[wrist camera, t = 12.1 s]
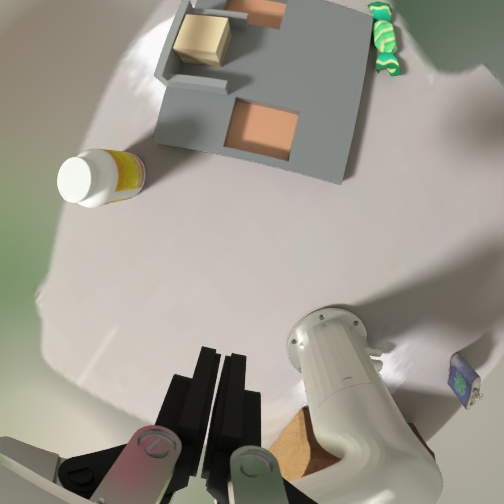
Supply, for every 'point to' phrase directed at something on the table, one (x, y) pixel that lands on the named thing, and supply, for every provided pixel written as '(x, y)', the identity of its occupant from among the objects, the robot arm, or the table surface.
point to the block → (203, 40)
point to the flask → (464, 381)
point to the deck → (270, 85)
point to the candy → (384, 38)
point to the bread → (307, 448)
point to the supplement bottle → (101, 177)
